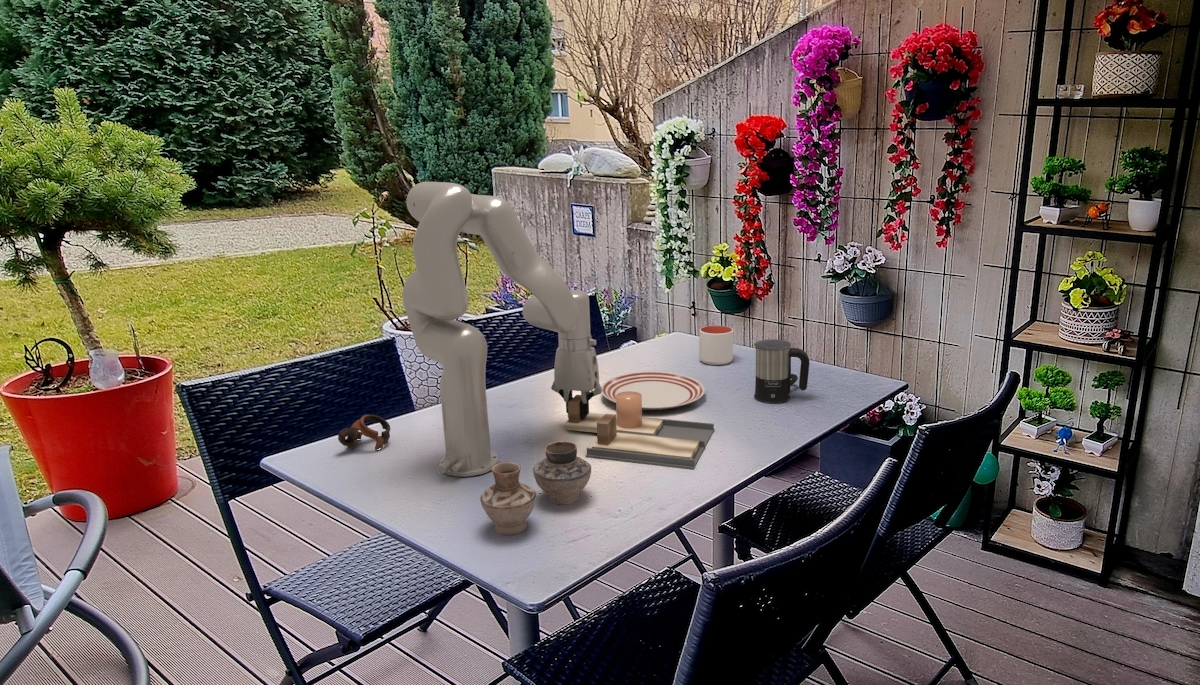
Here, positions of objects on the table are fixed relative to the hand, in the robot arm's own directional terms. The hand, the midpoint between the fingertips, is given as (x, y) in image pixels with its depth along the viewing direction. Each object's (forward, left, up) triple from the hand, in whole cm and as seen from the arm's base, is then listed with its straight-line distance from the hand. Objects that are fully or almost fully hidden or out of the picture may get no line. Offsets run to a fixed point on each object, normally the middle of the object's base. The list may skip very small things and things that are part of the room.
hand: (577, 415), depth 186 cm
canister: (0, -13, -1) cm, 13 cm away
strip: (-10, -20, -3) cm, 23 cm away
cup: (+60, -22, -3) cm, 64 cm away
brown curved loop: (-24, +44, -3) cm, 50 cm away
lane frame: (-5, -20, -3) cm, 21 cm away
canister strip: (0, -9, -3) cm, 9 cm away
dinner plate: (+24, -12, -3) cm, 27 cm away
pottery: (-42, -8, -3) cm, 43 cm away
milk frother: (+36, -43, -3) cm, 56 cm away
